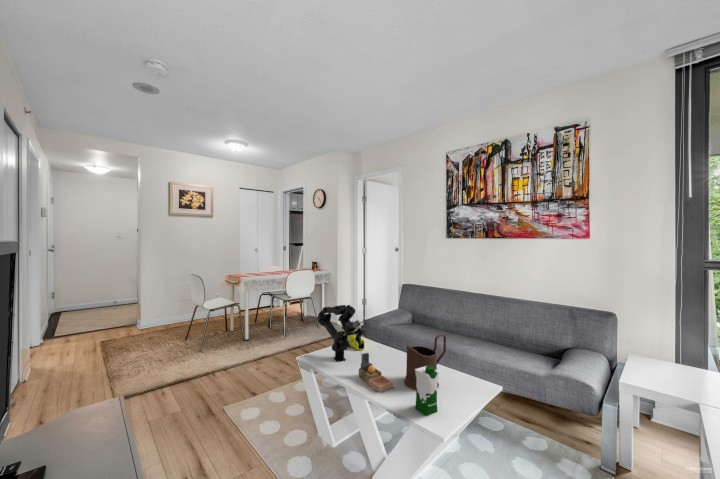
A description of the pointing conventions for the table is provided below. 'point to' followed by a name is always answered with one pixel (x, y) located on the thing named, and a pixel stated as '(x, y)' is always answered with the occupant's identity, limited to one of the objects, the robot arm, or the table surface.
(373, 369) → the ball
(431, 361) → the brown pitcher
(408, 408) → the table surface
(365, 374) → the track
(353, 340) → the yellow toy chassis
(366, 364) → the plunger
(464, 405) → the table surface
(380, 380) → the pink square tray
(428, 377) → the milk carton
